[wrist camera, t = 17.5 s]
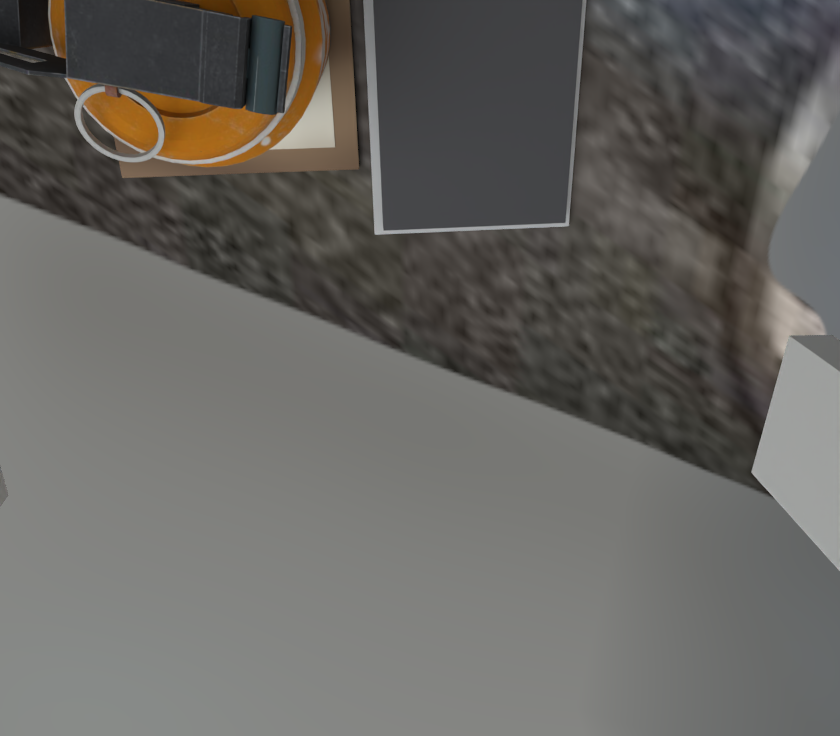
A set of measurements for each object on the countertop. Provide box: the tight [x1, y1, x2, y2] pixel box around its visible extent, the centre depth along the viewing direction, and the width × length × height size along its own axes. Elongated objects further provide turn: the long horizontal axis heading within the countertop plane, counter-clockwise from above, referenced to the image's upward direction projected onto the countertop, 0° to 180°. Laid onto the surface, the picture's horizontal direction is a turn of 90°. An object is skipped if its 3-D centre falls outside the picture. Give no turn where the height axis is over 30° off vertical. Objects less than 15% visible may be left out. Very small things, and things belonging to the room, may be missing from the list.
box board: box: [114, 0, 359, 178], centre depth 36 cm, size 15×13×1 cm
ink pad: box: [363, 0, 586, 235], centre depth 39 cm, size 14×12×2 cm
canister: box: [0, 0, 331, 167], centre depth 27 cm, size 9×11×20 cm
